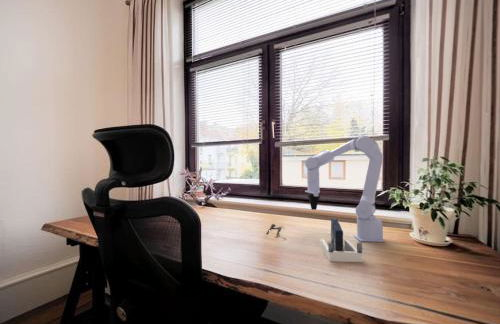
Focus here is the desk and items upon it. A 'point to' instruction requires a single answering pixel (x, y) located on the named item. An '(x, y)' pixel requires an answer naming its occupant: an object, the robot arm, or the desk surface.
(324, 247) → the rail dock
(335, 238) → the vhs cassette tape
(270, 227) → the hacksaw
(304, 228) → the desk surface
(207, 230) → the desk surface
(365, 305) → the desk surface
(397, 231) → the desk surface
